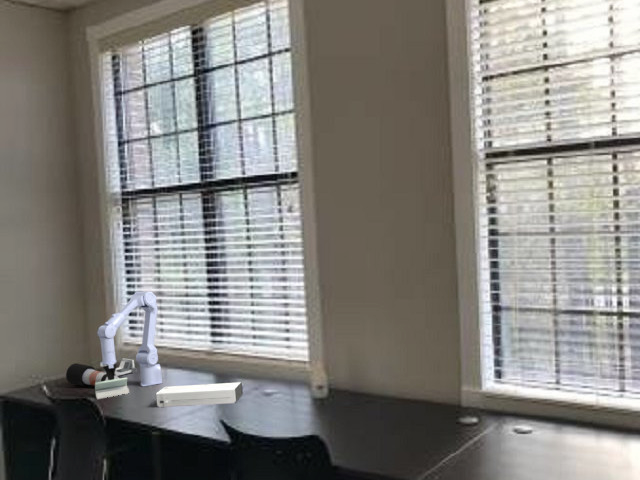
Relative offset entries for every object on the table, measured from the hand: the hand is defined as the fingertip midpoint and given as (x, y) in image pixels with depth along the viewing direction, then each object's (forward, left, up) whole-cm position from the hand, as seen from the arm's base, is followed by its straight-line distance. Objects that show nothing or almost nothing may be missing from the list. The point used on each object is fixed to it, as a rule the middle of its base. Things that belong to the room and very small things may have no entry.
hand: (111, 381), depth 317 cm
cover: (0, -1, -2) cm, 2 cm away
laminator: (-31, +40, -7) cm, 51 cm away
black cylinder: (+4, -23, -7) cm, 24 cm away
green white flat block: (0, 0, -6) cm, 6 cm away
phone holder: (-6, -44, -7) cm, 45 cm away
